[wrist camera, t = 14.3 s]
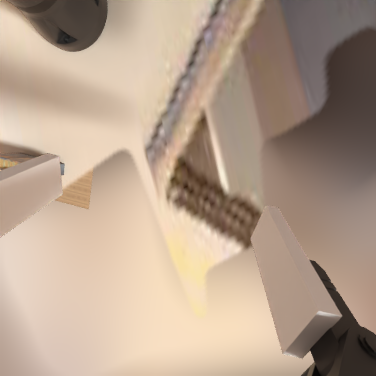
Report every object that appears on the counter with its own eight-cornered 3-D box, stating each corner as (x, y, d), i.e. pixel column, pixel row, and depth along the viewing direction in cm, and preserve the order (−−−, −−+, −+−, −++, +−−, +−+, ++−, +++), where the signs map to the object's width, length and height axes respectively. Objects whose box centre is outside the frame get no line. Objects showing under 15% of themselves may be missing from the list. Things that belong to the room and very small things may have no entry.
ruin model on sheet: (-3, 185, 50) (-55, 193, 40) (-3, 117, 46) (-60, 109, 37) (88, 209, 47) (56, 224, 38) (96, 140, 44) (62, 137, 34)
